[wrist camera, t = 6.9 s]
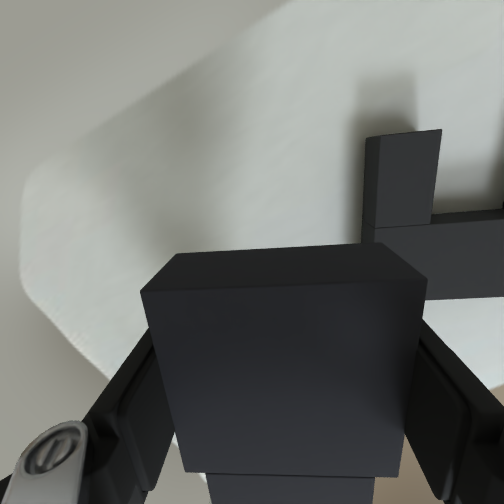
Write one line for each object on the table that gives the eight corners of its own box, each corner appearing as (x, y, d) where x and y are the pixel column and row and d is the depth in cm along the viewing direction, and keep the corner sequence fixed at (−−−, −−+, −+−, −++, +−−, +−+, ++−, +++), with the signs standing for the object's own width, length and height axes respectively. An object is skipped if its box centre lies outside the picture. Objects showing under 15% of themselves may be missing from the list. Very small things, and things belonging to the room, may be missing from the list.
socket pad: (365, 138, 19) (380, 135, 17) (580, 115, 18) (633, 108, 15) (359, 286, 23) (370, 303, 21) (534, 277, 22) (570, 294, 19)
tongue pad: (175, 252, 9) (138, 290, 7) (382, 241, 9) (429, 278, 6) (219, 483, 14) (206, 561, 11) (361, 487, 13) (384, 572, 10)
